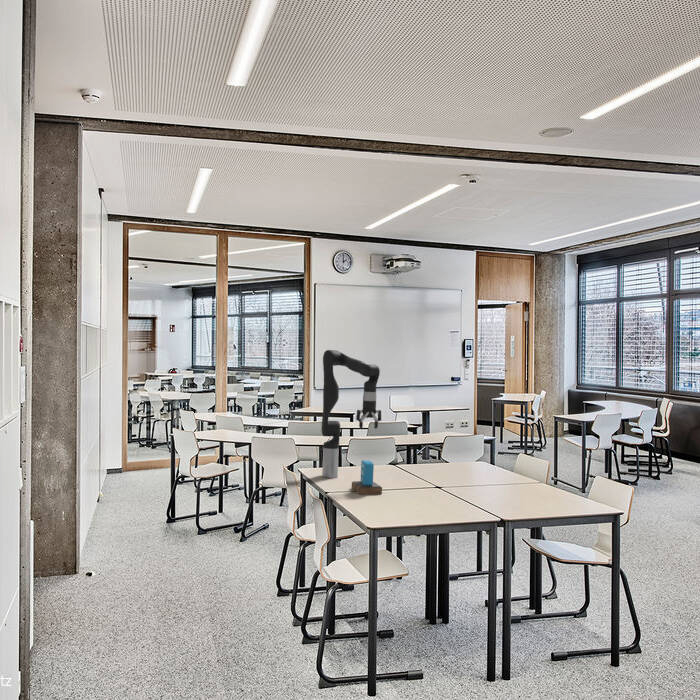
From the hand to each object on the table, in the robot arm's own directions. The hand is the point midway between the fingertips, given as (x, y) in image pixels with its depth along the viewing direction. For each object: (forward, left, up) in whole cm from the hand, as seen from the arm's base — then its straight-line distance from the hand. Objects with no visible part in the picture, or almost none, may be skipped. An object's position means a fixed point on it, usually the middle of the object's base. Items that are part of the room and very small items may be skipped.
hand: (368, 428), depth 361 cm
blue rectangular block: (+14, -5, -28) cm, 32 cm away
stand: (+15, -5, -32) cm, 36 cm away
